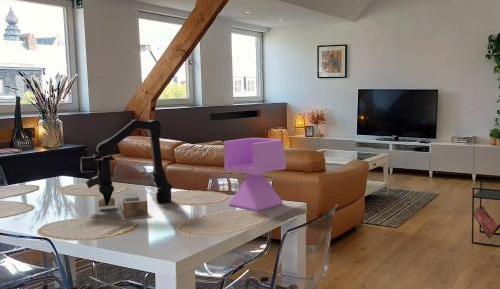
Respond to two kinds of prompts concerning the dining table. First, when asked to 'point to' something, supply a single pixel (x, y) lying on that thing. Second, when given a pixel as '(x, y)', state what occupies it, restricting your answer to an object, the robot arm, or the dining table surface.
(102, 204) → the roller
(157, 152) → the robot arm
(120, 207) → the roller bed
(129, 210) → the stop wall
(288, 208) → the dining table surface
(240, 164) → the chair
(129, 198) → the slab
